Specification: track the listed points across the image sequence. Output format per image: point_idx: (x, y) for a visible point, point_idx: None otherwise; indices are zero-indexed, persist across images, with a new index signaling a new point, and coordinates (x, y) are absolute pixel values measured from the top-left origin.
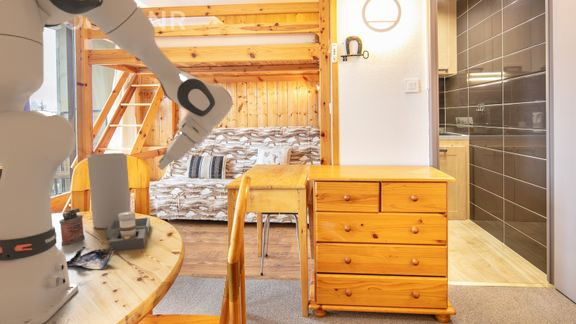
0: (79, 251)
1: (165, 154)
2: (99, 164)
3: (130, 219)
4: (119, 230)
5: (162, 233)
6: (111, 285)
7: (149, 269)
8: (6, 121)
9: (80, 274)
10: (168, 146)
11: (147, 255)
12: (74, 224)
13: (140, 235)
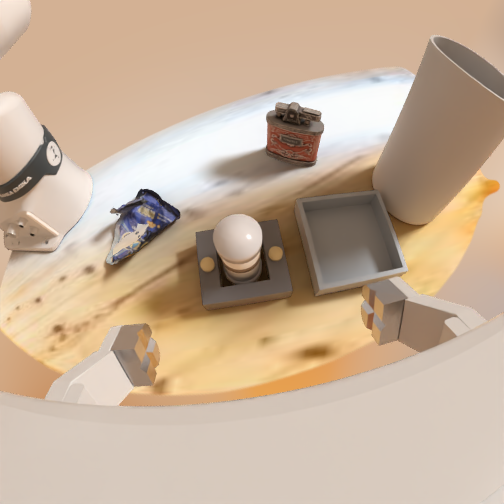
0: (139, 200)
1: (444, 318)
2: (427, 64)
3: (219, 255)
4: (302, 225)
5: (326, 329)
6: (51, 291)
7: (85, 340)
8: None
9: (102, 231)
10: (470, 360)
11: (155, 327)
12: (287, 135)
13: (228, 292)
